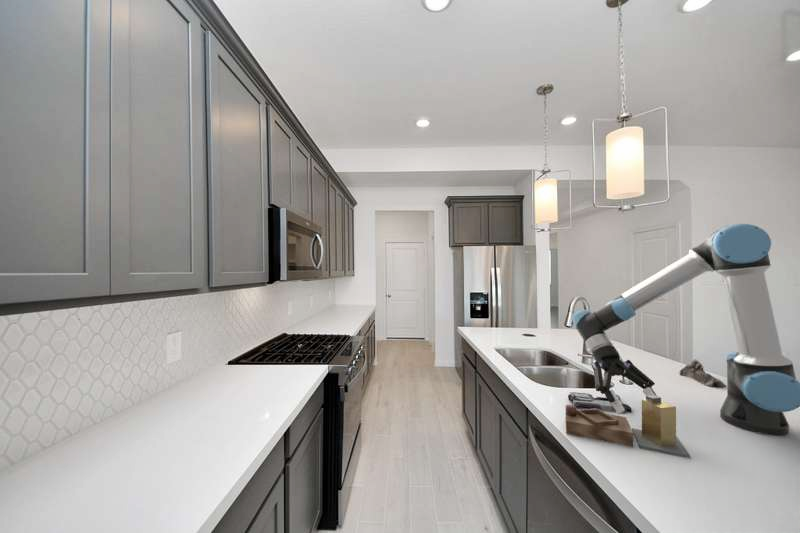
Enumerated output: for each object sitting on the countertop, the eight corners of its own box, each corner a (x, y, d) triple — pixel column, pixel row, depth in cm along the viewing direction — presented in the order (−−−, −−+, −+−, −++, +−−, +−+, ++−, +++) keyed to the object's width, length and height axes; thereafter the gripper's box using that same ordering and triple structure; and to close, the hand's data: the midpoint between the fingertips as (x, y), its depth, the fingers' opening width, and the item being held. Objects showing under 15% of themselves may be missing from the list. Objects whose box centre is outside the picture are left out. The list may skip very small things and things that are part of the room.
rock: (674, 371, 156) (684, 353, 154) (698, 381, 154) (708, 363, 152) (699, 387, 138) (710, 367, 137) (726, 398, 136) (738, 378, 135)
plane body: (625, 429, 102) (625, 408, 102) (633, 447, 91) (633, 424, 91) (565, 418, 109) (565, 399, 109) (566, 433, 99) (566, 412, 99)
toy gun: (616, 399, 127) (636, 417, 112) (563, 394, 131) (575, 410, 116) (617, 392, 127) (637, 409, 112) (563, 387, 131) (576, 403, 116)
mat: (676, 438, 96) (676, 436, 96) (690, 458, 86) (690, 455, 86) (631, 430, 101) (631, 428, 101) (639, 448, 91) (639, 445, 91)
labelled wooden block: (656, 434, 97) (655, 394, 97) (676, 445, 91) (675, 402, 91) (641, 436, 96) (641, 395, 96) (661, 447, 90) (660, 403, 90)
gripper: (626, 353, 119) (666, 412, 104) (565, 356, 115) (598, 418, 100) (639, 342, 113) (683, 402, 98) (576, 345, 109) (612, 408, 94)
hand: (640, 410), depth 99 cm, fingers open, 13 cm apart
